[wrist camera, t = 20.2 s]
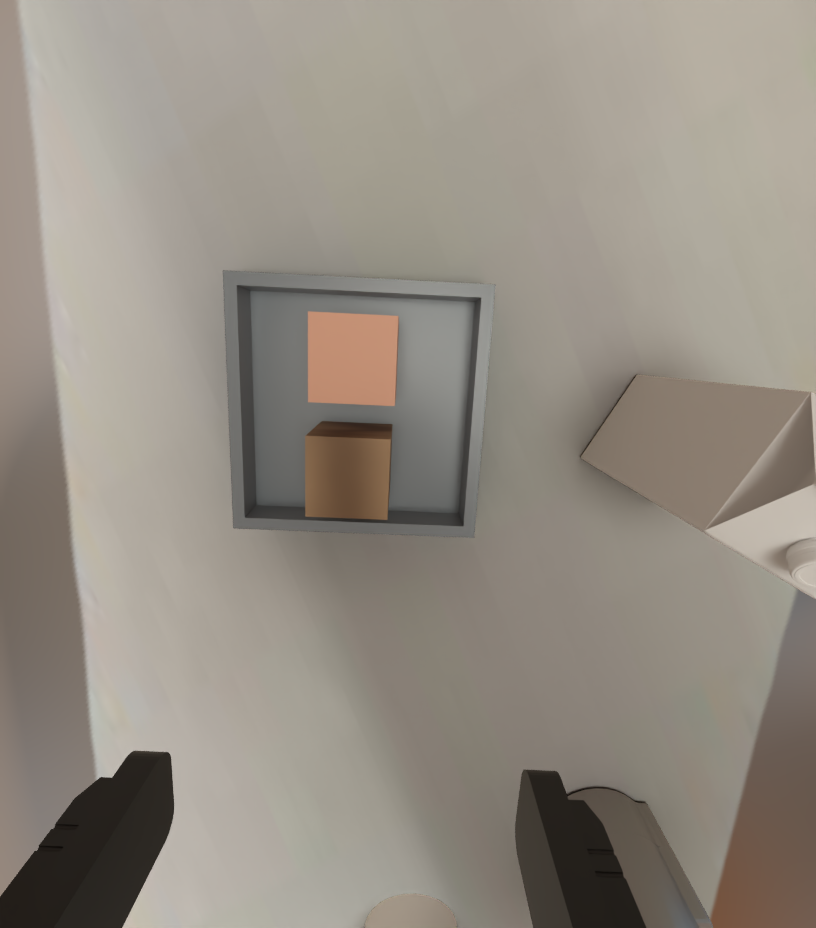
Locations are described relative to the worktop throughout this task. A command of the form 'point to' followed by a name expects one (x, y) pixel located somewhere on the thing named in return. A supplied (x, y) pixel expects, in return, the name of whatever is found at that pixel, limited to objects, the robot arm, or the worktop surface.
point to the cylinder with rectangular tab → (411, 913)
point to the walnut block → (348, 470)
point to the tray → (413, 417)
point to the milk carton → (722, 465)
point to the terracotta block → (352, 358)
